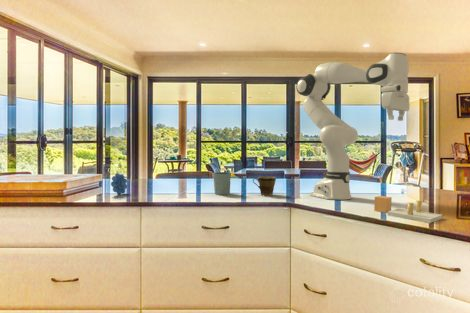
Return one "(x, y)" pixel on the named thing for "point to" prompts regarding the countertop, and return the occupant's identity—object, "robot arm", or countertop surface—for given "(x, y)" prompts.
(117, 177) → the grapes
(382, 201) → the orange-brown wooden block
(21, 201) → the countertop surface
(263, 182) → the ceramic cup
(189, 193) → the countertop surface
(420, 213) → the plate
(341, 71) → the robot arm
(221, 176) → the grey green pot
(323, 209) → the countertop surface
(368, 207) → the countertop surface
